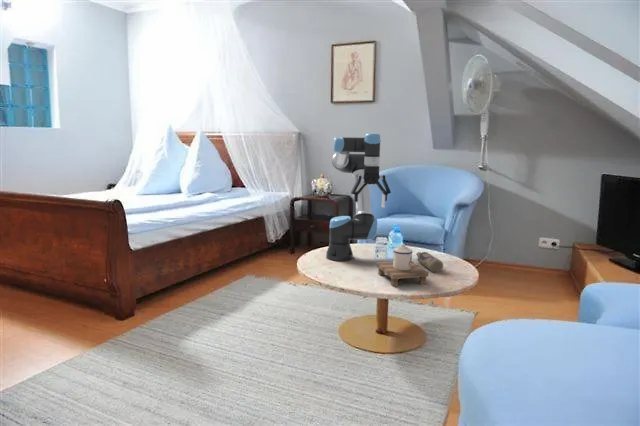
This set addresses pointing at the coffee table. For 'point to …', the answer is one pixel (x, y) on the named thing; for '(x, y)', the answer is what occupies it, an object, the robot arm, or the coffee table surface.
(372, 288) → the coffee table surface
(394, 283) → the walnut stand
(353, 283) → the coffee table surface
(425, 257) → the decorative bottle
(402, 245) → the teacup with lid
